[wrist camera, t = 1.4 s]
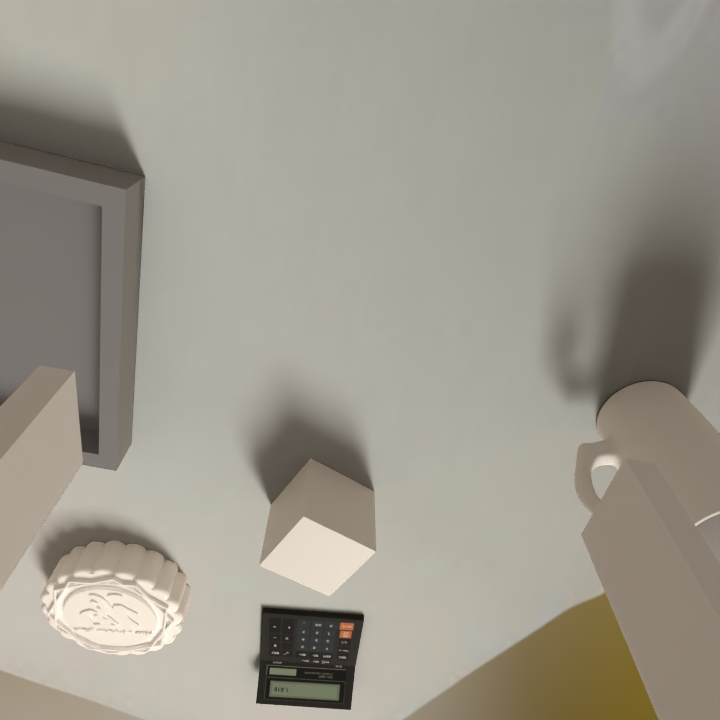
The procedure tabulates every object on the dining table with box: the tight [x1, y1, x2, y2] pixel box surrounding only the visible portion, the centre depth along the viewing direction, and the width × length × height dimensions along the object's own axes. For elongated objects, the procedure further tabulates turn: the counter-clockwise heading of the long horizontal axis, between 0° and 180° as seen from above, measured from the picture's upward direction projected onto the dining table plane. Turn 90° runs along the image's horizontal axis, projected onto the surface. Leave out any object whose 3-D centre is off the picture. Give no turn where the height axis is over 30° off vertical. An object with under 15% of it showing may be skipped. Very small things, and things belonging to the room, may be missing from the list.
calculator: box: [256, 608, 364, 710], centre depth 54 cm, size 9×12×3 cm
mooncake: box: [41, 541, 191, 655], centre depth 49 cm, size 12×12×4 cm
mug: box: [574, 381, 720, 563], centre depth 35 cm, size 10×7×12 cm, turn 97°
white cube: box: [259, 458, 376, 596], centre depth 42 cm, size 6×6×6 cm
